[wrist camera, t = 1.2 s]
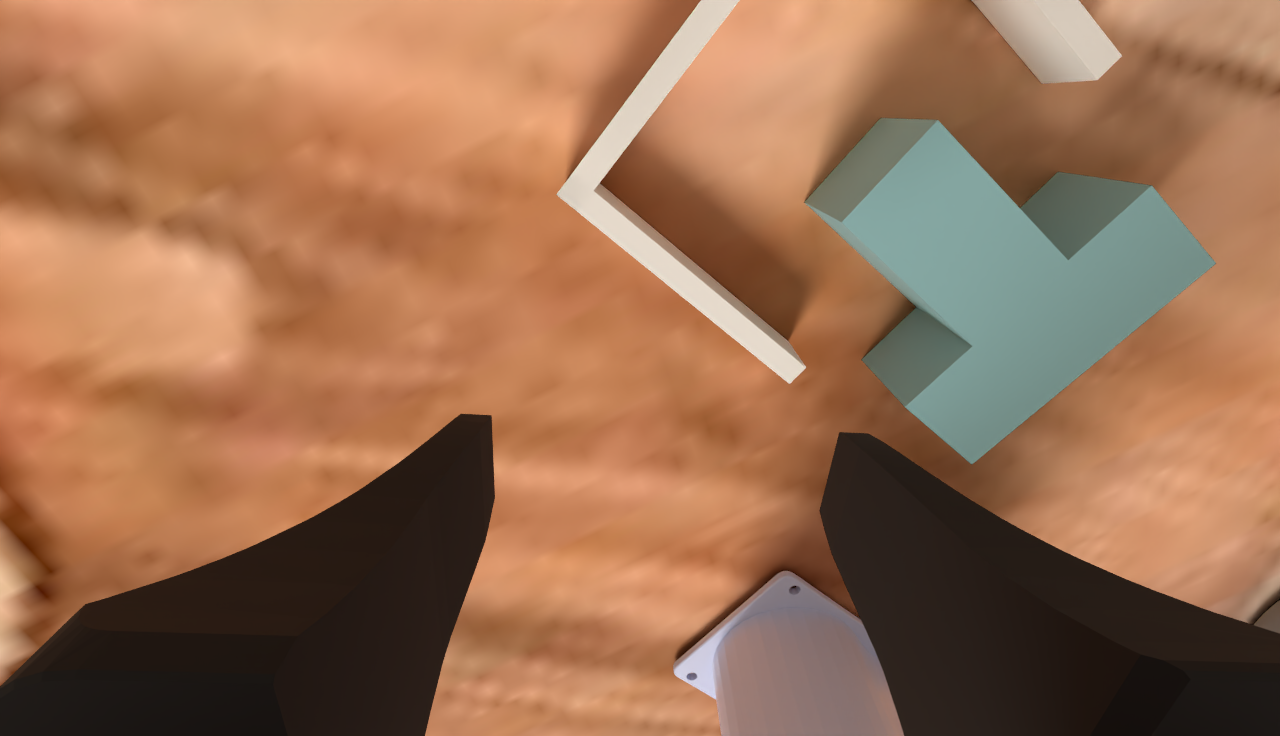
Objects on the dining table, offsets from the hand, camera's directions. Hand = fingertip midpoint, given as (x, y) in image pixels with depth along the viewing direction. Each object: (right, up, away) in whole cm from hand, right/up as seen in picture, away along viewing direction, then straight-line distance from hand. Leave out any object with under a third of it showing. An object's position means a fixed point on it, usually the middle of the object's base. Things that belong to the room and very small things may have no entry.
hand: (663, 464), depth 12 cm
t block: (+10, +6, +9) cm, 15 cm away
